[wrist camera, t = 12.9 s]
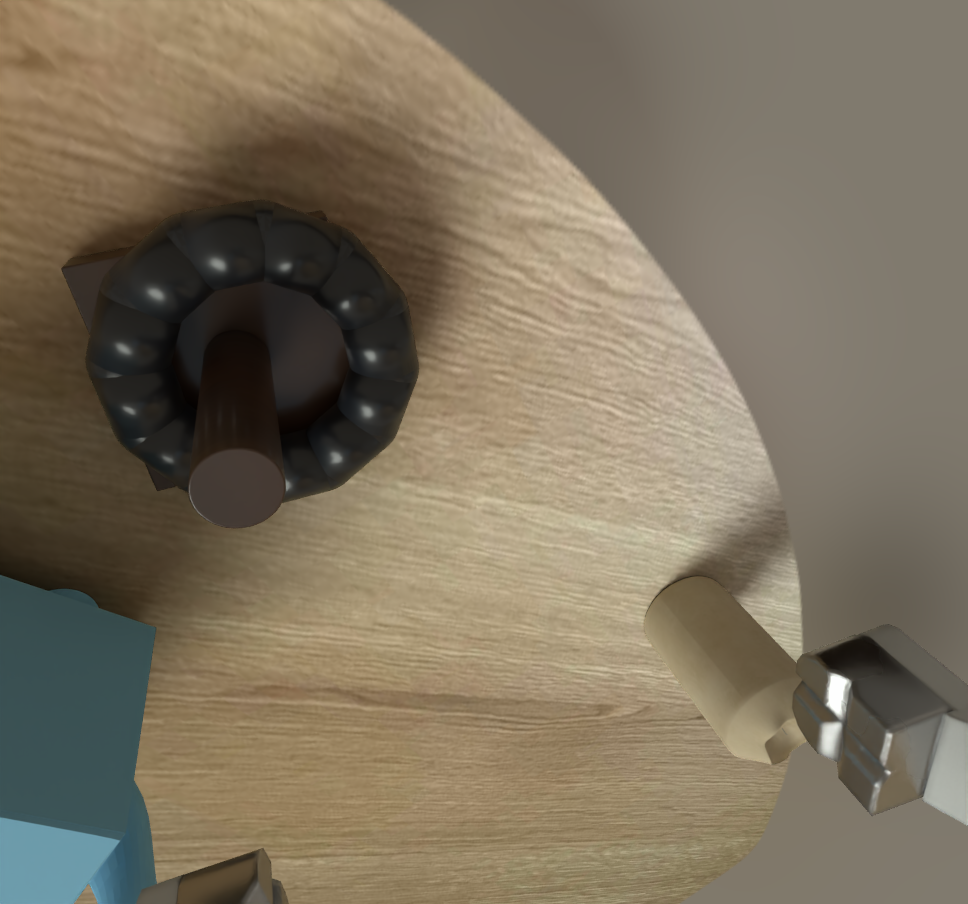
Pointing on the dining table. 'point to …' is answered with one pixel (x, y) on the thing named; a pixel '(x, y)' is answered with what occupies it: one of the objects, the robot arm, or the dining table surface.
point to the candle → (727, 668)
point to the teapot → (71, 749)
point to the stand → (241, 385)
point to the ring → (235, 262)
